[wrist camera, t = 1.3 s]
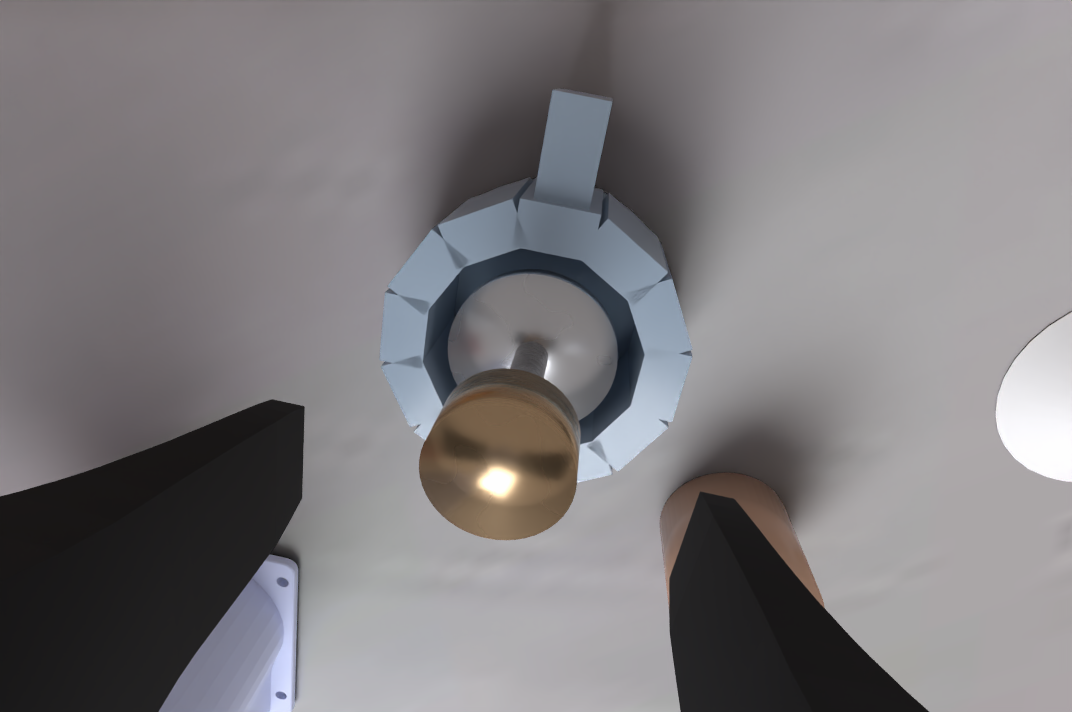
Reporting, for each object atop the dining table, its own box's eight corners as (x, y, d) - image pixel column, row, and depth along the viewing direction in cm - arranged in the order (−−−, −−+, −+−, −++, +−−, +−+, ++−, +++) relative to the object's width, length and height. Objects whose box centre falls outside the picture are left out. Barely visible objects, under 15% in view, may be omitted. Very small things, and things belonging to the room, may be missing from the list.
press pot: (634, 452, 23) (638, 527, 19) (410, 404, 23) (370, 470, 19) (730, 120, 18) (762, 131, 14) (448, 64, 18) (404, 61, 14)
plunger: (597, 436, 18) (590, 592, 13) (442, 404, 18) (370, 543, 13) (635, 288, 16) (648, 395, 11) (463, 253, 17) (387, 340, 11)
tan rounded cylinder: (763, 583, 24) (794, 683, 20) (646, 558, 24) (653, 652, 20) (805, 487, 22) (848, 576, 18) (678, 460, 23) (693, 543, 19)
